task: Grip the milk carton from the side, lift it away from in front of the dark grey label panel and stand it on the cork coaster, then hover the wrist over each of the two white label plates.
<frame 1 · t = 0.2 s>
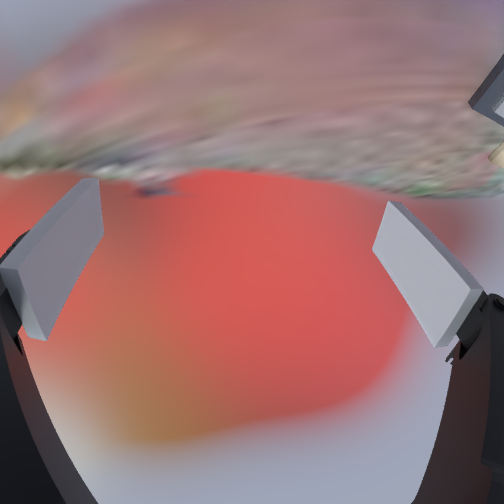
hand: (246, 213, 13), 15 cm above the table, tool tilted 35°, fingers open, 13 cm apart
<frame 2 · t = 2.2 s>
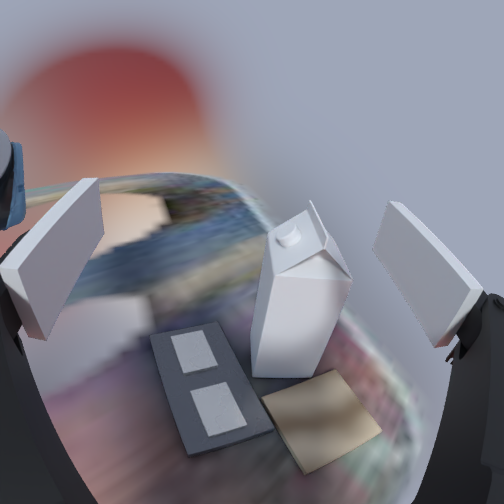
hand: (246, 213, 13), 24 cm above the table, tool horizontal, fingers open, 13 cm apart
label panel: (204, 384, 31), on the table
coaster: (321, 419, 29), on the table
milk carton: (279, 356, 36), on the table
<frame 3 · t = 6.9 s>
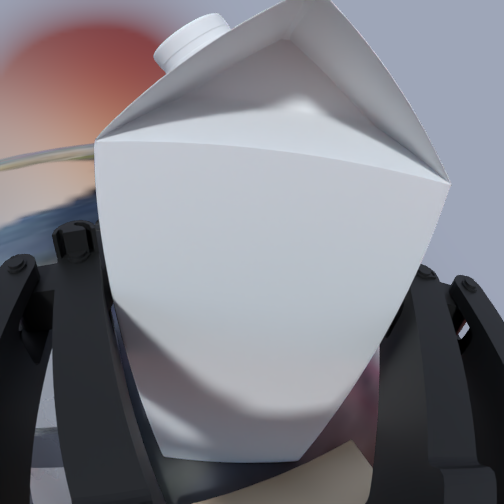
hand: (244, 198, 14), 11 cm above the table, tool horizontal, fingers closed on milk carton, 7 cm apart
label panel: (66, 455, 11), on the table
milk carton: (230, 410, 16), on the table, touching gripper
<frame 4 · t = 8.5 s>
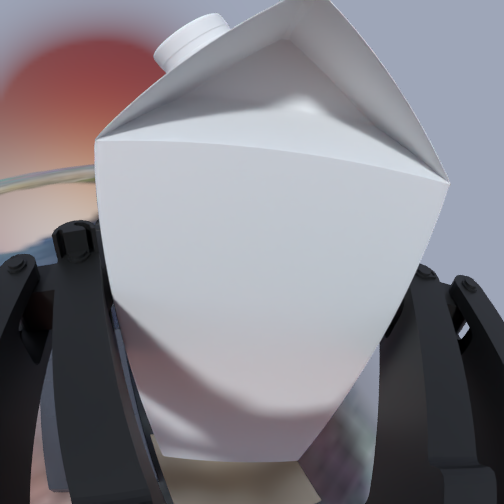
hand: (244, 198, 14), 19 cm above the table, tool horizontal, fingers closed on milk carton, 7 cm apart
label panel: (88, 406, 21), on the table
coaster: (232, 475, 19), on the table
milk carton: (230, 410, 16), point 8 cm above the table, touching gripper
when the fingers open (13 cm above the table, at t = 10.3 s): milk carton drops 1 cm, resting on coaster.
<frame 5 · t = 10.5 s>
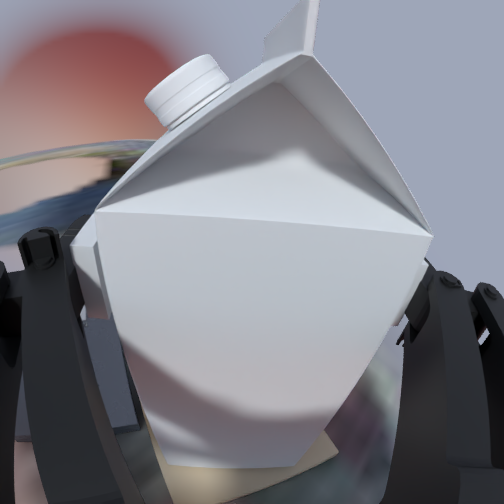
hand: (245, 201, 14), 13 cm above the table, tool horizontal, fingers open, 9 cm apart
label panel: (67, 346, 20), on the table
coaster: (228, 423, 17), on the table
milk carton: (229, 418, 17), point 1 cm above the table, touching coaster
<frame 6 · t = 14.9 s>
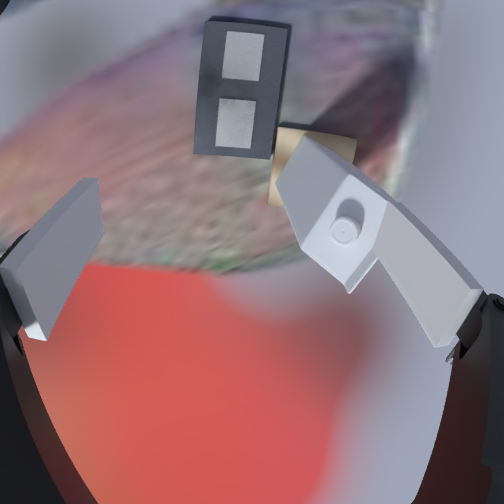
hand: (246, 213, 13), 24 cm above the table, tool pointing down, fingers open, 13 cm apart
label panel: (238, 89, 31), on the table
coaster: (311, 170, 37), on the table
milk carton: (312, 171, 37), point 1 cm above the table, touching coaster
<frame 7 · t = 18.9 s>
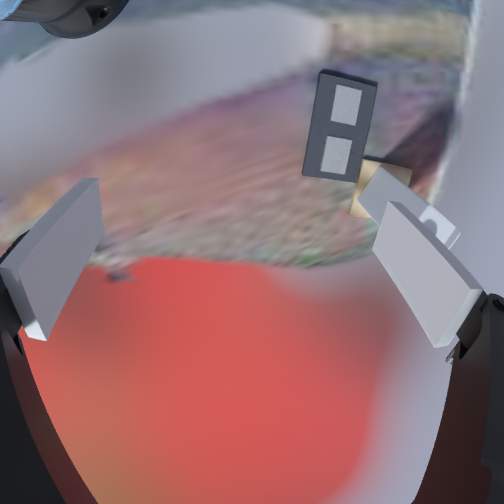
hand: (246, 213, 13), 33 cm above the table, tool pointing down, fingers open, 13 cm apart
label panel: (338, 128, 42), on the table
coaster: (380, 190, 48), on the table
milk carton: (381, 192, 48), point 1 cm above the table, touching coaster
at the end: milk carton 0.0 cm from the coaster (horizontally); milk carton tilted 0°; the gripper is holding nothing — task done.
